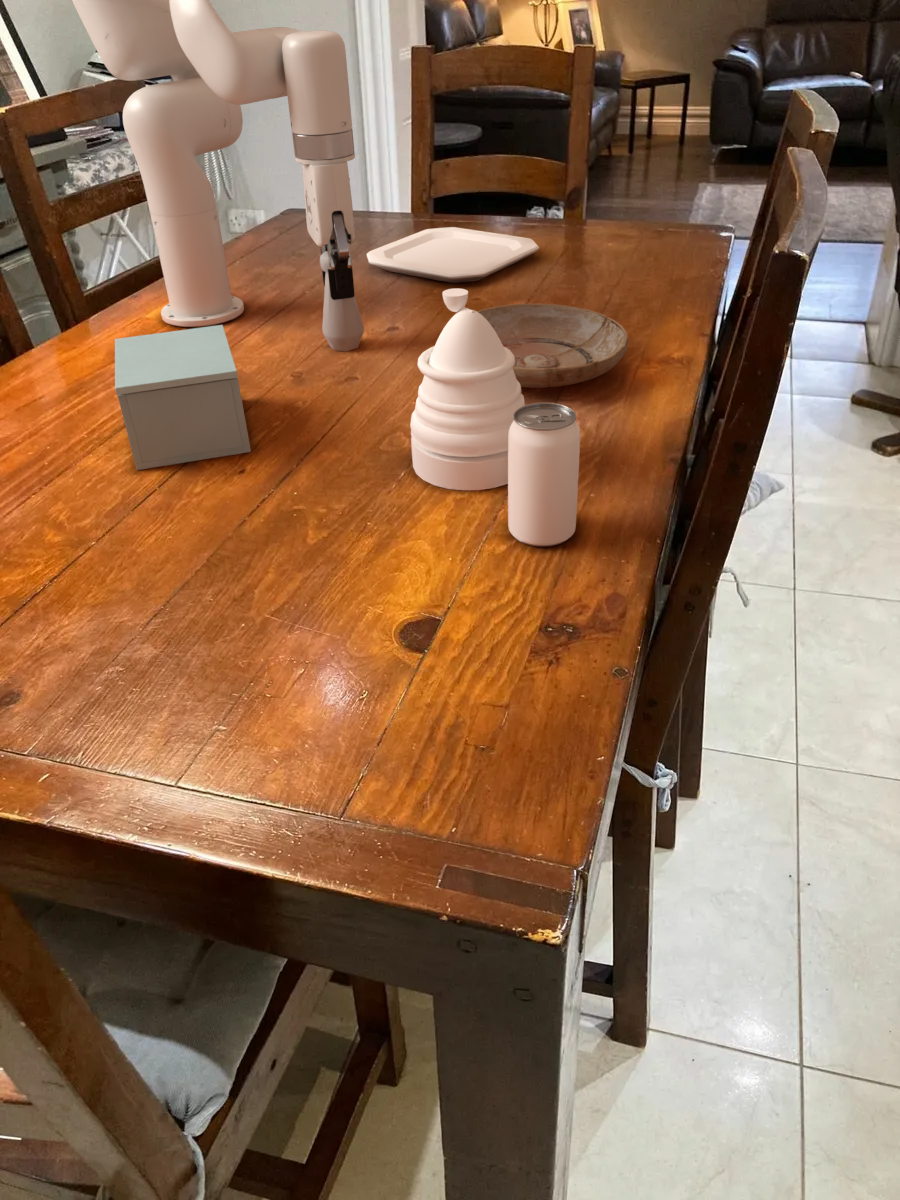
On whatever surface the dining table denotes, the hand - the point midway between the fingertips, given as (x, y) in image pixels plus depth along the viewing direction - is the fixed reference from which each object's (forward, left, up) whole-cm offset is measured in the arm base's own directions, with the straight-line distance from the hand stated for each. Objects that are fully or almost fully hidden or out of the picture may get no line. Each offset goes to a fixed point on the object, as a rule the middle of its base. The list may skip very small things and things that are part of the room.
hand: (339, 291), depth 128 cm
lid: (+21, -23, +1) cm, 31 cm away
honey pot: (+40, +6, -8) cm, 41 cm away
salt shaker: (0, 0, -8) cm, 8 cm away
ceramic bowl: (+18, +22, -8) cm, 30 cm away
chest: (+21, -23, -8) cm, 32 cm away
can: (+56, +8, -8) cm, 57 cm away
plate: (-33, +26, -8) cm, 43 cm away
